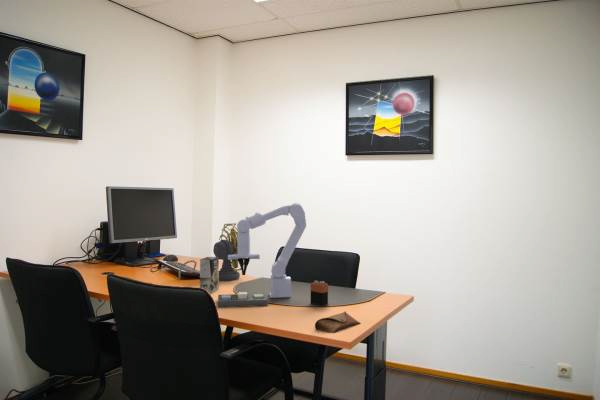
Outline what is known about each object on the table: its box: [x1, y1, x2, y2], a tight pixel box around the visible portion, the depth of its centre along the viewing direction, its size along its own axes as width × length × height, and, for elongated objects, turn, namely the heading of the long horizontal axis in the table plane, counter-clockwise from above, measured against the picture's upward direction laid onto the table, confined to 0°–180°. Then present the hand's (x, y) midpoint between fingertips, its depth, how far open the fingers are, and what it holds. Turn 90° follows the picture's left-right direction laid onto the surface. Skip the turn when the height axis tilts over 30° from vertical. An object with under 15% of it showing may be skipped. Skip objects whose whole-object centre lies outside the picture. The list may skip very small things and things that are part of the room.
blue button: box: [221, 294, 231, 299], centre depth 212 cm, size 4×4×3 cm
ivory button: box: [237, 291, 248, 299], centre depth 213 cm, size 4×4×3 cm
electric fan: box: [178, 222, 244, 282], centre depth 262 cm, size 26×32×30 cm
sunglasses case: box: [314, 311, 361, 334], centre depth 180 cm, size 18×7×7 cm
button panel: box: [217, 293, 269, 308], centre depth 213 cm, size 21×12×2 cm, turn 99°
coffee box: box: [199, 256, 220, 294], centre depth 235 cm, size 9×6×16 cm
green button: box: [253, 293, 263, 298], centre depth 214 cm, size 4×4×3 cm
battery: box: [310, 280, 329, 307], centre depth 212 cm, size 4×7×10 cm, turn 47°
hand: (243, 274), depth 225 cm, fingers closed
